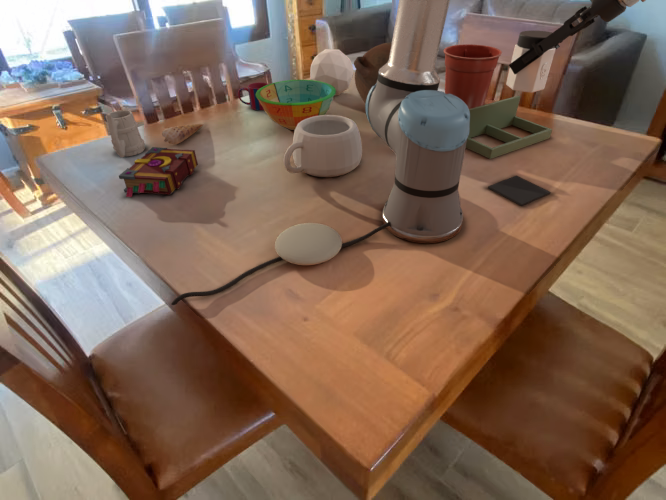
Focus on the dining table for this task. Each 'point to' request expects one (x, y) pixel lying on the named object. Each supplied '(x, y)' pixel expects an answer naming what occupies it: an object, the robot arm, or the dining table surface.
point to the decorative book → (159, 171)
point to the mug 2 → (325, 146)
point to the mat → (519, 190)
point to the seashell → (180, 133)
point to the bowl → (295, 100)
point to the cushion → (308, 244)
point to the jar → (535, 72)
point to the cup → (253, 95)
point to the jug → (370, 68)
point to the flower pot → (470, 72)
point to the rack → (498, 117)
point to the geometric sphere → (332, 69)
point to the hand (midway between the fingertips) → (519, 65)
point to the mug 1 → (124, 133)
